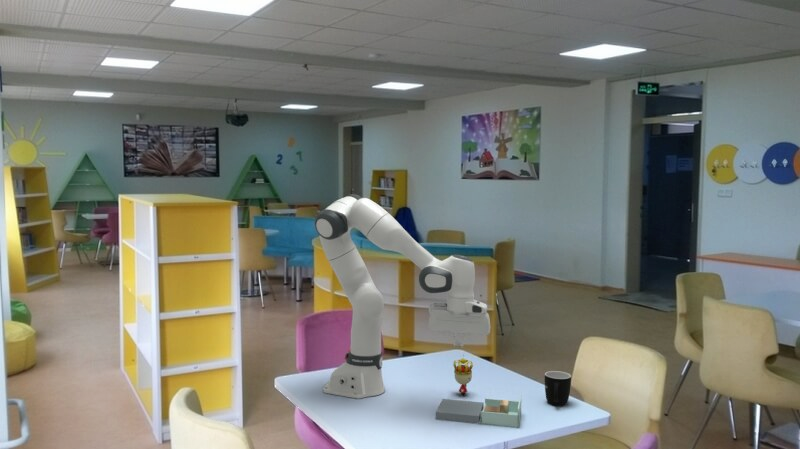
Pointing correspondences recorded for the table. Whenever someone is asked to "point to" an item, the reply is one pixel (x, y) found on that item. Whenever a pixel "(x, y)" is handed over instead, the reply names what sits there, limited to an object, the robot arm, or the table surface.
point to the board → (459, 411)
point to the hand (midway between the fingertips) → (458, 346)
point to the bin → (502, 414)
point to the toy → (463, 374)
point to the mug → (557, 387)
